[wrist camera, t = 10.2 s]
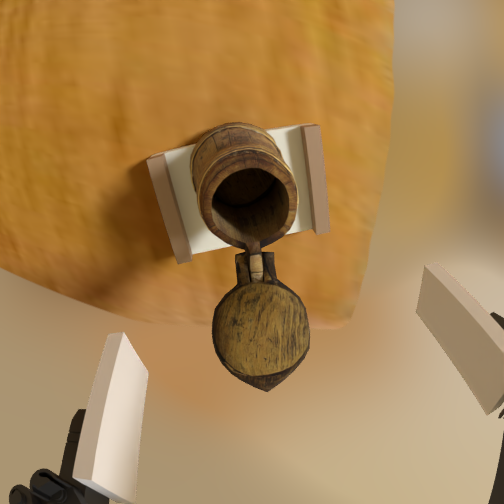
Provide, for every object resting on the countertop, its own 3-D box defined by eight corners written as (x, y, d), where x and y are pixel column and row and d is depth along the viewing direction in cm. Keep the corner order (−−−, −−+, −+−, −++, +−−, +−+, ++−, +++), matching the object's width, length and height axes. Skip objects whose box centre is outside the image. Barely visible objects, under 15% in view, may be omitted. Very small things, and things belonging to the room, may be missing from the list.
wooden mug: (198, 255, 32) (191, 400, 16) (186, 125, 26) (140, 162, 10) (282, 249, 33) (337, 383, 17) (282, 121, 26) (378, 153, 11)
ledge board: (152, 154, 28) (146, 160, 25) (310, 122, 28) (319, 125, 25) (180, 250, 33) (177, 264, 30) (321, 220, 33) (330, 231, 31)
